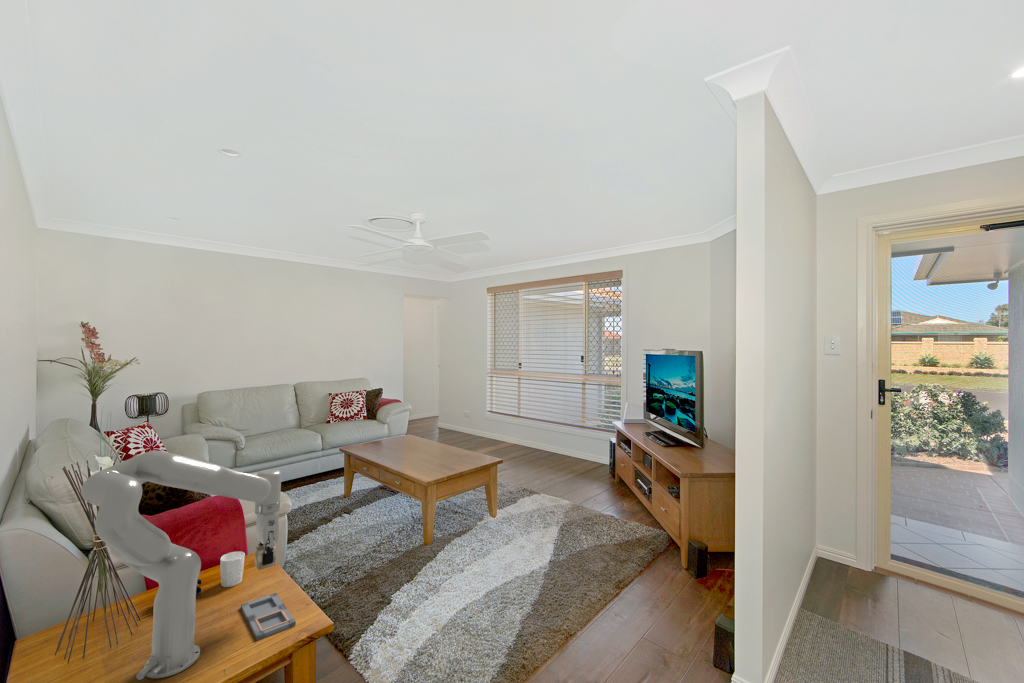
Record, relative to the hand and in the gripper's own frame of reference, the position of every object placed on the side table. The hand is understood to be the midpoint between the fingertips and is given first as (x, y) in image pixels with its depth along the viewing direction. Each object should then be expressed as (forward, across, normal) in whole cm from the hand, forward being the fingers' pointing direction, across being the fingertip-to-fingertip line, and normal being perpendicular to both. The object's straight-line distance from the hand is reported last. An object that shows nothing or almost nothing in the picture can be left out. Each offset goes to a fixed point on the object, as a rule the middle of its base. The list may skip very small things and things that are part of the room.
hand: (265, 560), depth 147 cm
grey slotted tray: (+17, -4, 0) cm, 18 cm away
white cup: (+17, +28, +3) cm, 33 cm away
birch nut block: (+2, 0, 0) cm, 2 cm away
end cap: (+18, +27, +19) cm, 37 cm away
